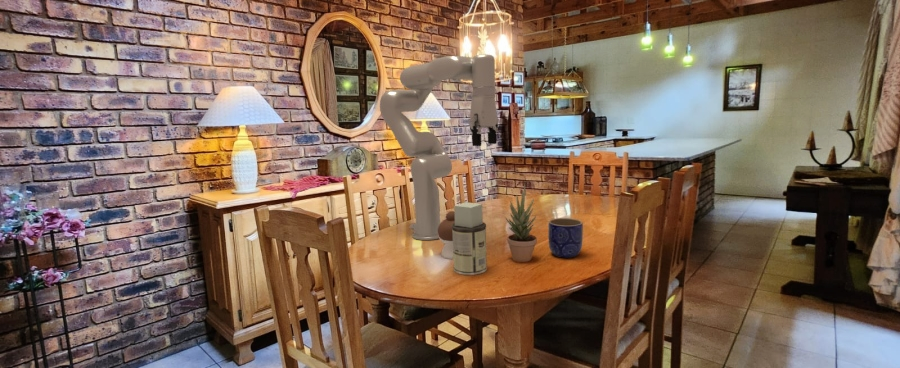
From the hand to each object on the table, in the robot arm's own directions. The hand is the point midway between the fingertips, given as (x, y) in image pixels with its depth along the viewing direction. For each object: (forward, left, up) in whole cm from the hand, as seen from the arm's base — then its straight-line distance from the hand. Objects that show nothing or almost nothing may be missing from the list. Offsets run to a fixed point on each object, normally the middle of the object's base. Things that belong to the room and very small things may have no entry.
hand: (484, 144), depth 154 cm
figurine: (-6, -12, -36) cm, 39 cm away
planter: (+26, +7, -36) cm, 45 cm away
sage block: (+7, -21, -22) cm, 31 cm away
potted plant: (+16, -4, -36) cm, 40 cm away
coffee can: (+7, -21, -37) cm, 43 cm away
